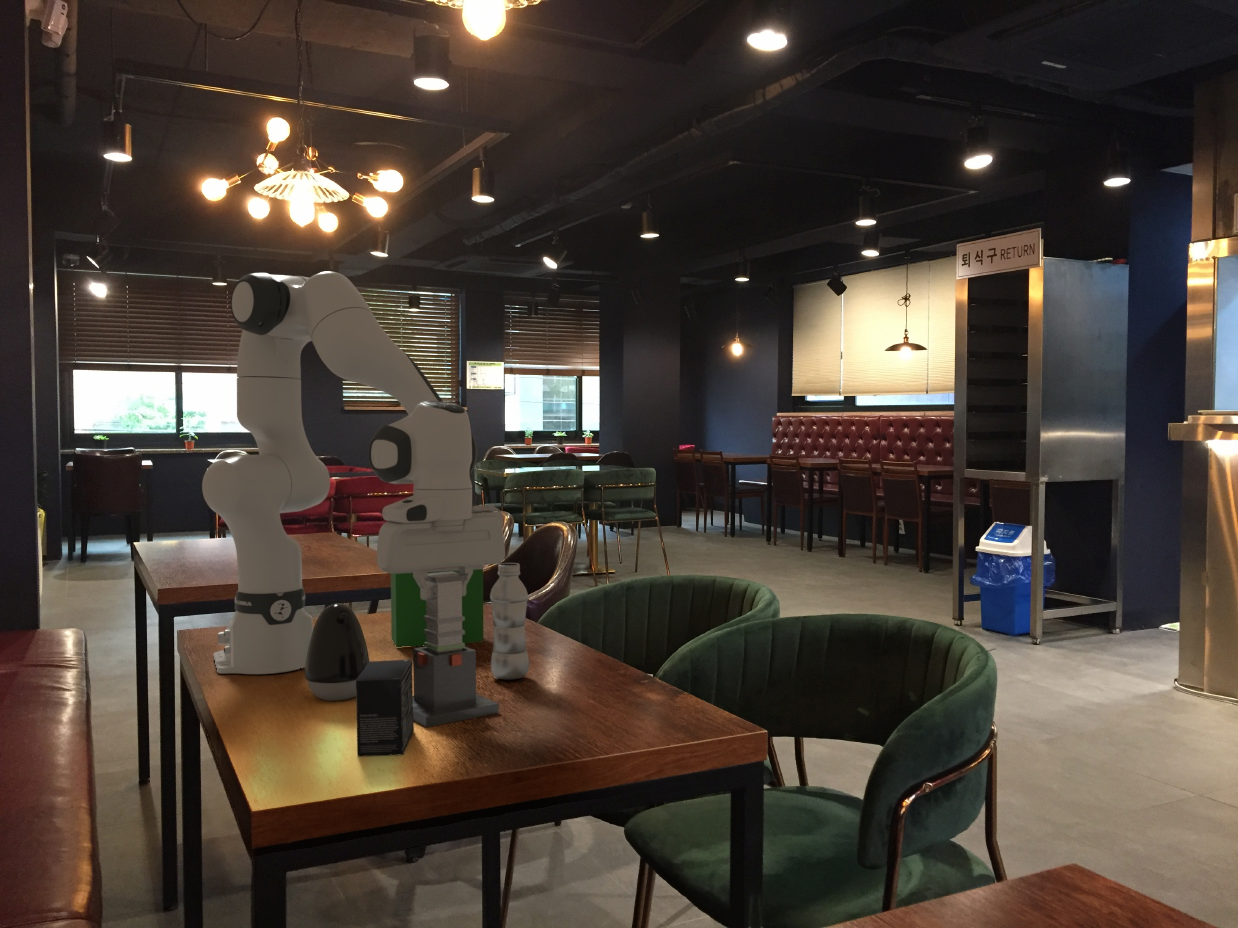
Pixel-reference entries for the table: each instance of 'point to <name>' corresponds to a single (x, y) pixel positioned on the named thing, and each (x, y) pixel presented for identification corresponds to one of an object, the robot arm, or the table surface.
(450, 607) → the column
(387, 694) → the small box
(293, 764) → the table surface
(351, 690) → the pump dispenser
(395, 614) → the hardback book
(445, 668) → the stand
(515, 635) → the plastic bottle
